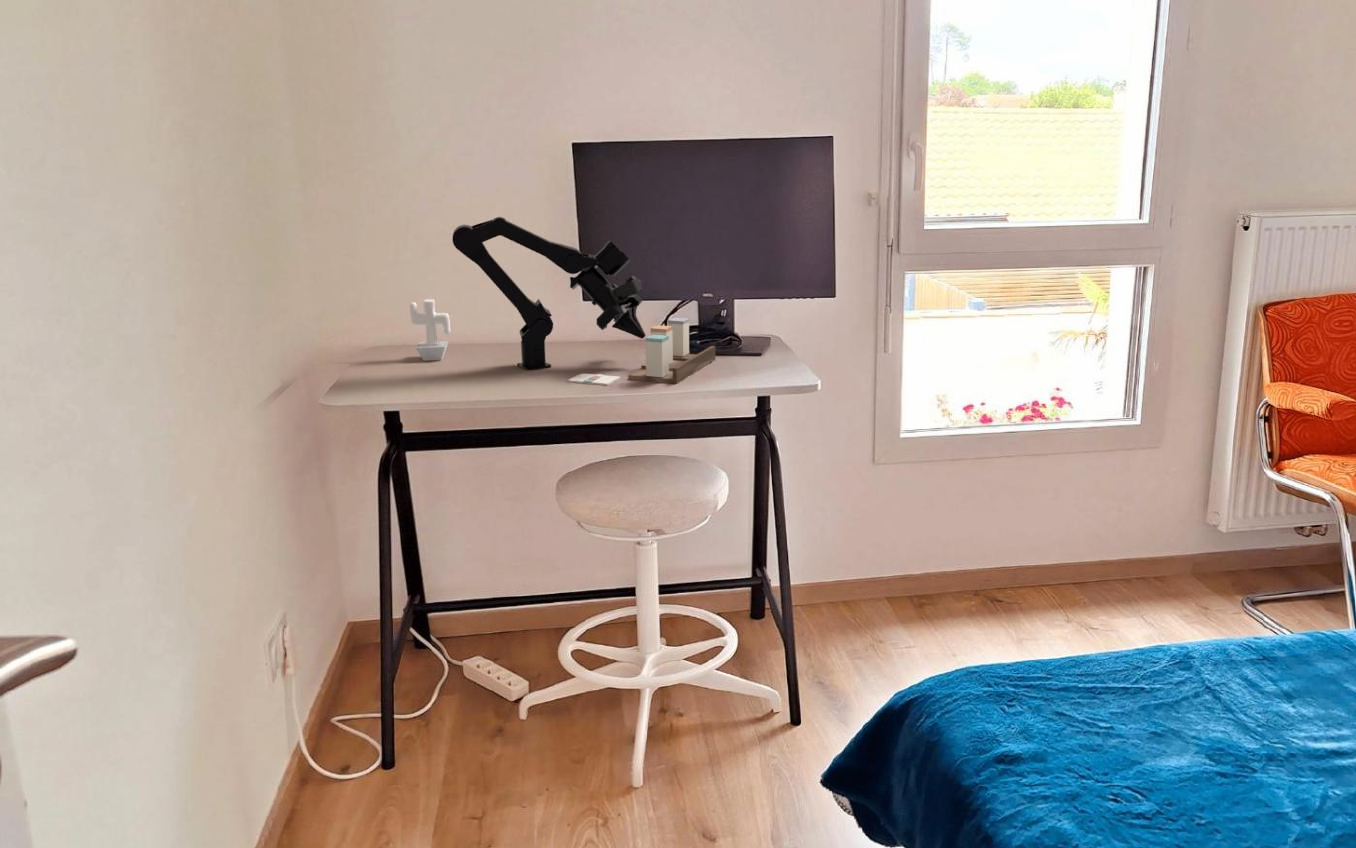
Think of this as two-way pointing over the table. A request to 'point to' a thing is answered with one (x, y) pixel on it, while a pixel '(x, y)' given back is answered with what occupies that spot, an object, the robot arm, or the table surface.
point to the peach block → (666, 332)
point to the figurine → (430, 330)
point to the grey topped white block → (680, 336)
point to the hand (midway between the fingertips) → (644, 337)
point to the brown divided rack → (678, 367)
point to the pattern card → (594, 379)
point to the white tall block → (657, 355)
